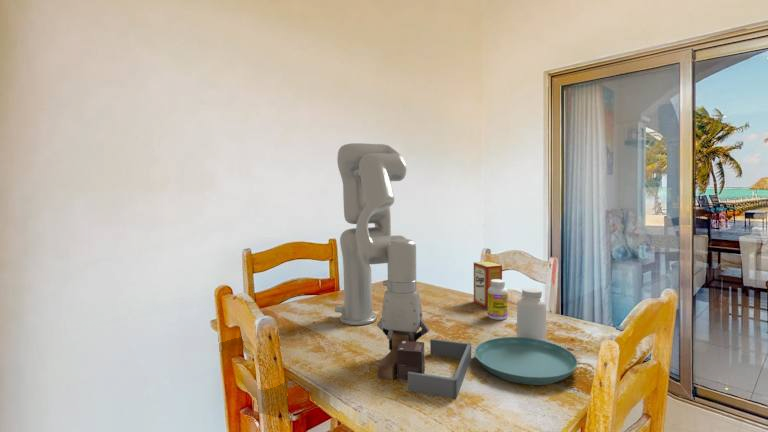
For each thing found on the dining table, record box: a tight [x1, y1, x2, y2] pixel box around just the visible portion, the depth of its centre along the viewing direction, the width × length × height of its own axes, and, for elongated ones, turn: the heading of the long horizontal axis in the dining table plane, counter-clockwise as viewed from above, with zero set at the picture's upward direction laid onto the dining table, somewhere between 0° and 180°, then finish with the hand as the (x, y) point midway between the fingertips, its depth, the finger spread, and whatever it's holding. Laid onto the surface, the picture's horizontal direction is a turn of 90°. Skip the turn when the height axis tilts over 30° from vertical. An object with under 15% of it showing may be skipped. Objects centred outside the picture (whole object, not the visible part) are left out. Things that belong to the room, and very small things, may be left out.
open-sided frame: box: [407, 338, 472, 400], centre depth 97 cm, size 11×22×4 cm, turn 159°
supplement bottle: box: [487, 279, 509, 321], centre depth 138 cm, size 7×7×13 cm
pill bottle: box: [516, 287, 547, 341], centre depth 117 cm, size 8×8×15 cm
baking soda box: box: [473, 261, 503, 309], centre depth 154 cm, size 10×6×16 cm
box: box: [396, 341, 426, 381], centre depth 96 cm, size 6×6×7 cm
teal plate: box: [474, 336, 579, 386], centre depth 101 cm, size 24×24×3 cm
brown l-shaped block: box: [377, 331, 410, 381], centre depth 101 cm, size 4×15×7 cm, turn 159°
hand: (402, 353), depth 107 cm, fingers closed on brown l-shaped block, 4 cm apart
